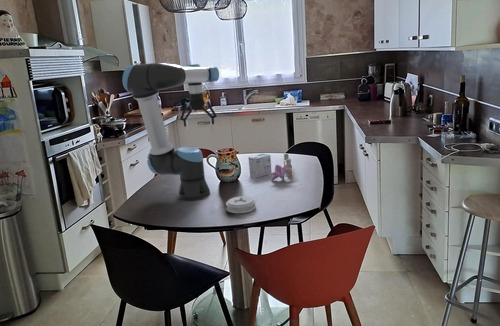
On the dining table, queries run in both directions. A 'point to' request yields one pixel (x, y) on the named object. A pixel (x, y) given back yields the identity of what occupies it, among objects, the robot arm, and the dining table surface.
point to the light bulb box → (260, 165)
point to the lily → (280, 172)
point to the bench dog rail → (286, 162)
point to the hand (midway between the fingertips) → (199, 131)
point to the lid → (241, 204)
